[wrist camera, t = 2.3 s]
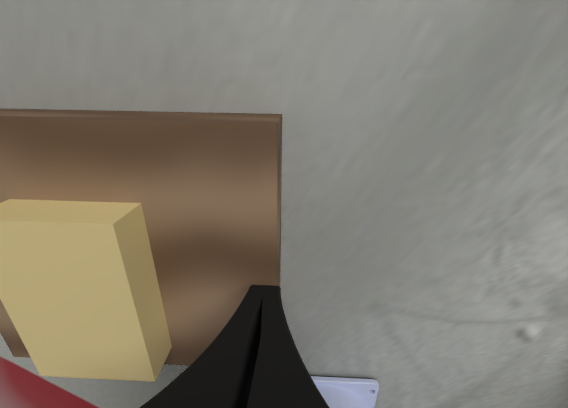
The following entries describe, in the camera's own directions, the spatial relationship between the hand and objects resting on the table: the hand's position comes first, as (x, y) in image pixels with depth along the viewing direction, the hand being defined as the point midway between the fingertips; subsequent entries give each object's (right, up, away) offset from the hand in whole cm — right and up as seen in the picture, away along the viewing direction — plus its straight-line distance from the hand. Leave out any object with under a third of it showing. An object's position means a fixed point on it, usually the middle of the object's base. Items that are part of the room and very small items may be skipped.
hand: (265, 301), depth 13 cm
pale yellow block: (-8, +1, +1) cm, 9 cm away
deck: (-7, +3, +4) cm, 9 cm away
